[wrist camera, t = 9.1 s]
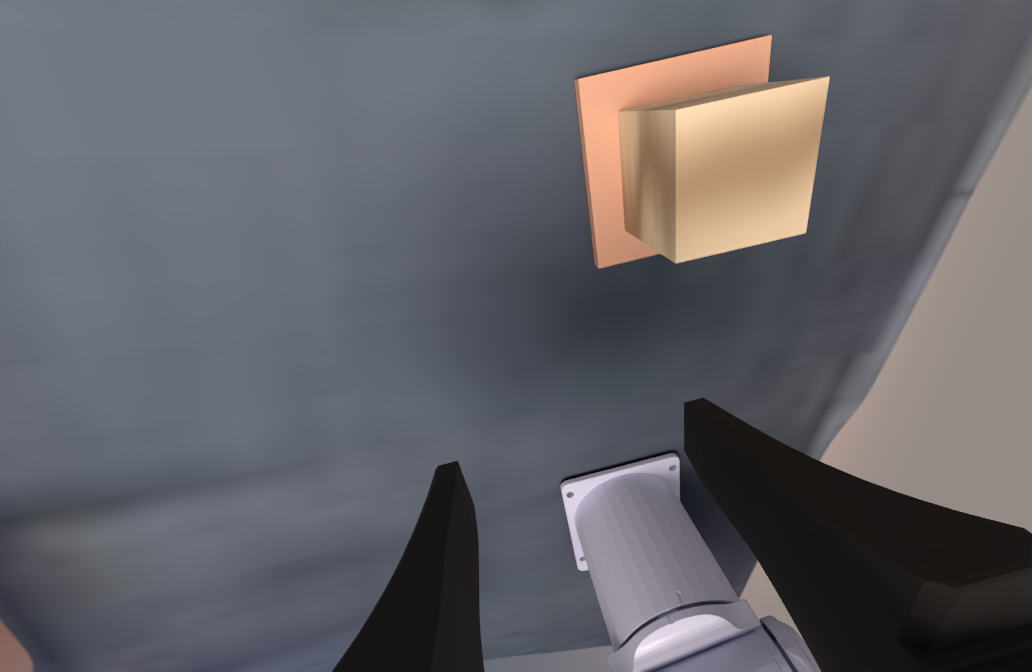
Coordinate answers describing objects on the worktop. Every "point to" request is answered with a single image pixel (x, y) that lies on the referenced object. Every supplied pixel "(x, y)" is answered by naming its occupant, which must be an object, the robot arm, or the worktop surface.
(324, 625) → the worktop surface
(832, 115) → the worktop surface
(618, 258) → the coaster
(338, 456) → the worktop surface
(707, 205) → the block
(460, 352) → the worktop surface
